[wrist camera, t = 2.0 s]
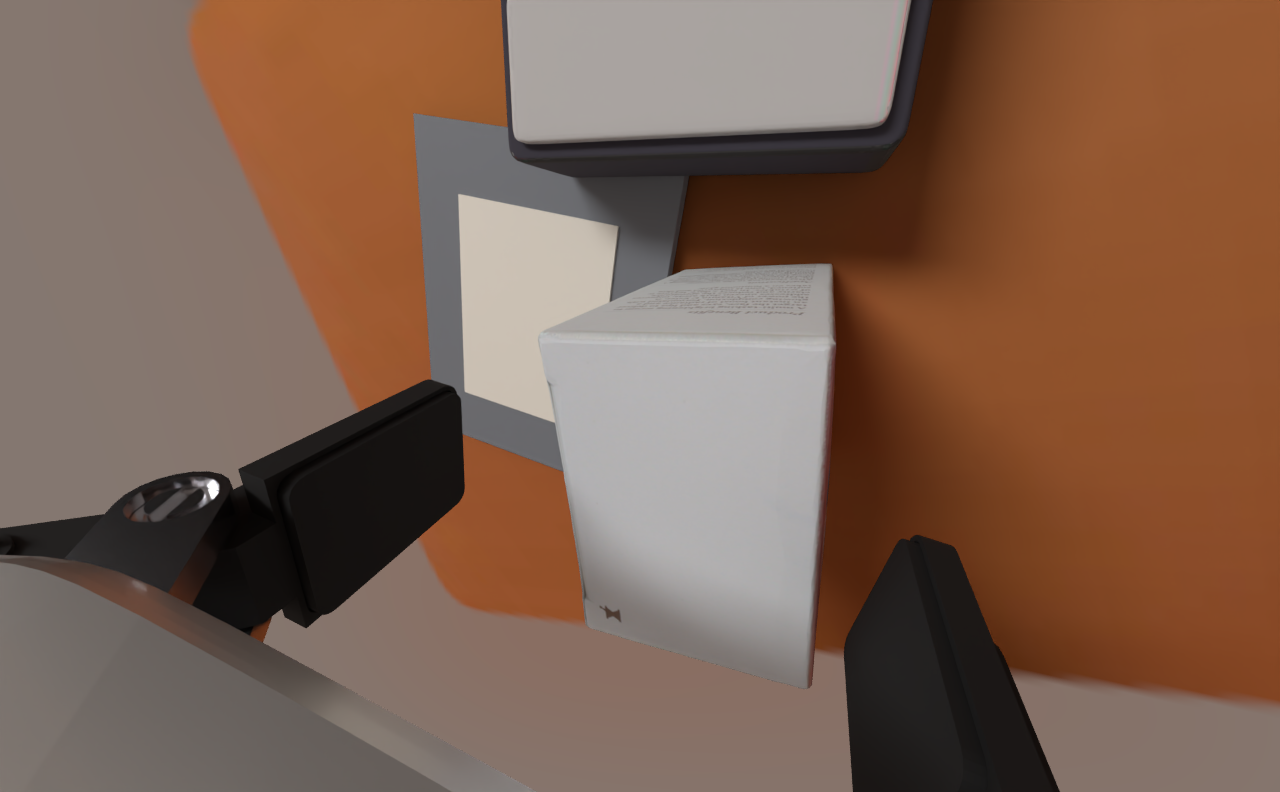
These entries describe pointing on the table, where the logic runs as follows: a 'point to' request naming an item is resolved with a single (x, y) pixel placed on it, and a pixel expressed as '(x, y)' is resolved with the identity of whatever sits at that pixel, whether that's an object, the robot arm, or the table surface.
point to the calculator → (710, 84)
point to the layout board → (524, 268)
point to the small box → (702, 461)
